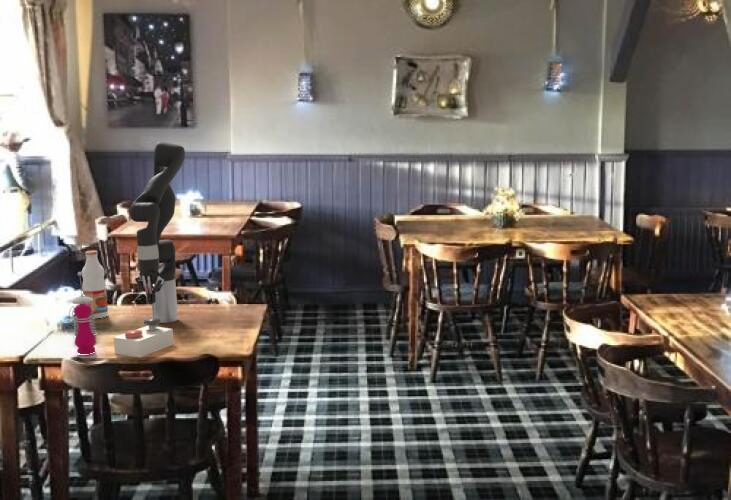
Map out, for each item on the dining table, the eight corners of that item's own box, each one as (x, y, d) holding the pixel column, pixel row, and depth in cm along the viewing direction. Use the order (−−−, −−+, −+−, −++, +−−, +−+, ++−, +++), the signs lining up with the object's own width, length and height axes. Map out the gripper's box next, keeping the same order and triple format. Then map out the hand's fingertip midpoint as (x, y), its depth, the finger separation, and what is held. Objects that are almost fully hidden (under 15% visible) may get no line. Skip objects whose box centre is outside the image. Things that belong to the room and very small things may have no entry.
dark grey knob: (141, 334, 348) (140, 320, 347) (152, 330, 353) (151, 316, 352) (153, 336, 345) (152, 322, 344) (164, 332, 350) (163, 318, 349)
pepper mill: (78, 351, 345) (73, 297, 342) (98, 350, 346) (94, 296, 342) (74, 356, 338) (69, 302, 335) (94, 355, 339) (90, 301, 335)
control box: (114, 353, 341) (113, 337, 340) (149, 341, 356) (147, 325, 355) (139, 357, 335) (138, 341, 334) (173, 344, 350) (172, 328, 349)
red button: (122, 347, 340) (121, 333, 339) (134, 343, 345) (133, 329, 344) (135, 349, 337) (133, 335, 336) (146, 345, 342) (145, 330, 341)
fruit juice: (90, 314, 401) (84, 249, 396) (111, 314, 400) (106, 249, 395) (81, 319, 392) (75, 253, 387) (103, 319, 391) (97, 253, 386)
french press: (103, 332, 370) (98, 270, 365) (81, 340, 360) (76, 276, 355) (84, 330, 374) (79, 268, 370) (63, 337, 364) (57, 274, 360)
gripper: (127, 257, 344) (131, 304, 347) (155, 259, 337) (158, 307, 340) (141, 254, 350) (145, 299, 353) (169, 256, 344) (172, 302, 347)
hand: (151, 303), depth 347 cm, fingers closed
